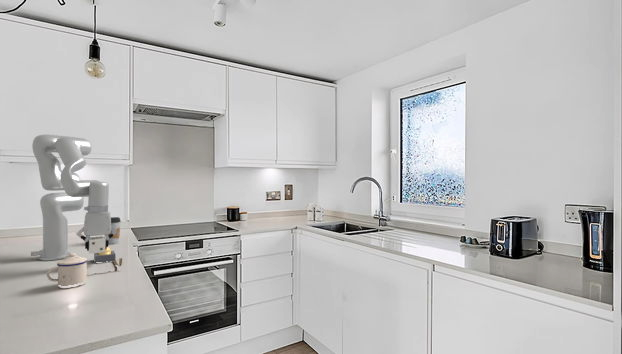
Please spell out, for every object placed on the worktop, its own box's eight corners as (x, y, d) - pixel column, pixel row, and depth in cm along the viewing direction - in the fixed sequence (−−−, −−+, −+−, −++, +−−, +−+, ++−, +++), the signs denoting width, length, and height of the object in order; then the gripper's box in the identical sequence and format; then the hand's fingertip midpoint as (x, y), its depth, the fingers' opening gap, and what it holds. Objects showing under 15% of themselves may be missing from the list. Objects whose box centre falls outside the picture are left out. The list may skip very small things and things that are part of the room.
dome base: (95, 263, 150) (95, 256, 150) (94, 260, 157) (94, 252, 157) (115, 261, 155) (115, 254, 155) (113, 257, 162) (113, 250, 162)
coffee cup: (115, 245, 190) (115, 219, 190) (100, 244, 190) (100, 218, 190) (123, 242, 198) (123, 217, 198) (110, 241, 198) (110, 217, 198)
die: (89, 253, 143) (89, 239, 143) (88, 250, 148) (88, 236, 148) (105, 252, 147) (105, 238, 147) (104, 249, 152) (104, 235, 152)
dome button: (98, 261, 153) (98, 248, 153) (98, 259, 157) (98, 246, 157) (111, 260, 156) (111, 246, 155) (110, 258, 160) (110, 244, 160)
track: (75, 277, 130) (75, 270, 130) (74, 266, 146) (74, 260, 146) (125, 270, 141) (125, 263, 141) (119, 260, 156) (119, 254, 156)
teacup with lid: (86, 279, 128) (86, 249, 128) (88, 285, 121) (88, 254, 121) (46, 285, 121) (46, 254, 121) (46, 292, 114) (46, 259, 114)
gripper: (74, 211, 139) (73, 253, 139) (121, 209, 149) (119, 249, 150) (74, 208, 145) (73, 249, 145) (119, 207, 155) (118, 245, 156)
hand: (96, 248), depth 147 cm, fingers closed on die, 6 cm apart
